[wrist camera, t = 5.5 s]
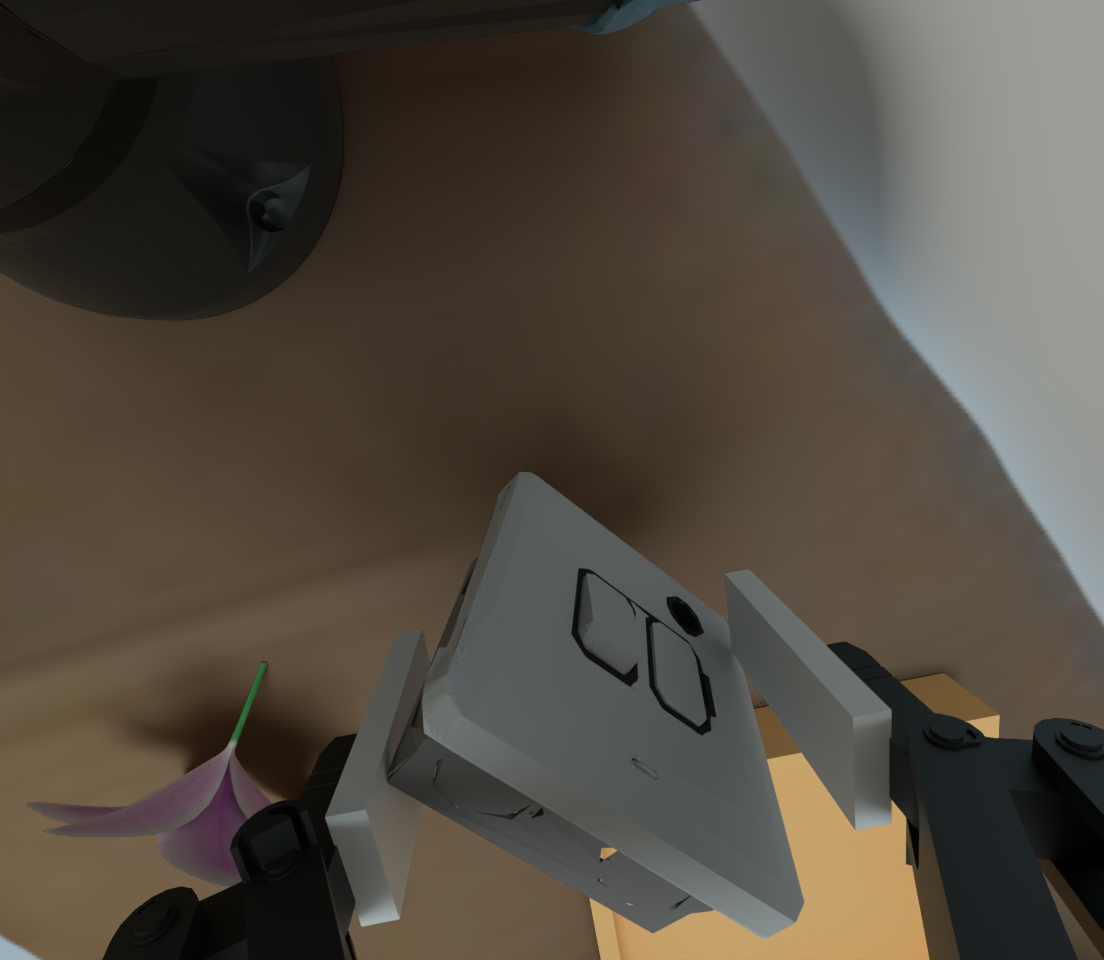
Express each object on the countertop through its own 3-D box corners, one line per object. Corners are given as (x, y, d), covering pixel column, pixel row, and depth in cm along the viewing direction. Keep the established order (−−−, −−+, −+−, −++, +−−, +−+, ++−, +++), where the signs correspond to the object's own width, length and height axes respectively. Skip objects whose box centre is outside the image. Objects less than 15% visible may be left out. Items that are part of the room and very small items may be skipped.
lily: (94, 684, 28) (-48, 925, 21) (174, 577, 22) (14, 861, 15) (317, 741, 34) (263, 945, 27) (426, 669, 28) (393, 904, 21)
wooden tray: (563, 744, 29) (570, 796, 26) (944, 673, 30) (999, 714, 27) (616, 1024, 35) (627, 1099, 31) (939, 959, 35) (985, 1025, 32)
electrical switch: (730, 618, 19) (881, 886, 11) (632, 711, 21) (696, 1020, 12) (521, 458, 18) (494, 624, 9) (427, 572, 19) (321, 817, 10)
